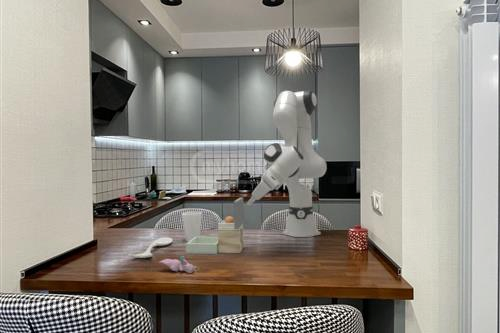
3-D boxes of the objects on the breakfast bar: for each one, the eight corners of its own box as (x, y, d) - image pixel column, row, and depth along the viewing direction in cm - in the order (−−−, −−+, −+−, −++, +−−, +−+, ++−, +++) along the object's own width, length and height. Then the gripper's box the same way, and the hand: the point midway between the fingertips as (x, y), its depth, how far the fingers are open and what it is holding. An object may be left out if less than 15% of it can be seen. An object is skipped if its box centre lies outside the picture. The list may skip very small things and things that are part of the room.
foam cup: (204, 237, 170) (203, 211, 170) (200, 242, 161) (199, 214, 161) (185, 237, 171) (185, 211, 171) (180, 242, 162) (179, 214, 162)
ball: (224, 223, 148) (226, 214, 148) (233, 225, 148) (235, 216, 147) (222, 225, 144) (224, 216, 144) (231, 227, 144) (234, 218, 143)
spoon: (127, 262, 132) (127, 253, 132) (157, 242, 164) (156, 235, 164) (150, 262, 131) (150, 253, 131) (175, 242, 163) (175, 235, 163)
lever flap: (243, 225, 152) (243, 197, 152) (238, 232, 138) (237, 201, 138) (224, 225, 153) (223, 197, 153) (216, 231, 140) (215, 201, 139)
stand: (223, 247, 151) (222, 226, 151) (243, 247, 150) (243, 226, 150) (218, 252, 142) (217, 231, 142) (239, 253, 141) (239, 231, 141)
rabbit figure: (201, 274, 121) (164, 263, 125) (203, 257, 120) (166, 248, 125) (192, 280, 115) (154, 269, 119) (194, 262, 114) (156, 252, 119)
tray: (195, 245, 155) (195, 236, 155) (223, 245, 153) (223, 236, 153) (186, 253, 142) (185, 243, 142) (216, 254, 140) (216, 244, 140)
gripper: (269, 173, 153) (247, 195, 155) (264, 175, 133) (240, 200, 134) (279, 183, 152) (257, 205, 154) (276, 186, 132) (251, 211, 134)
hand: (249, 203), depth 144 cm, fingers open, 8 cm apart
